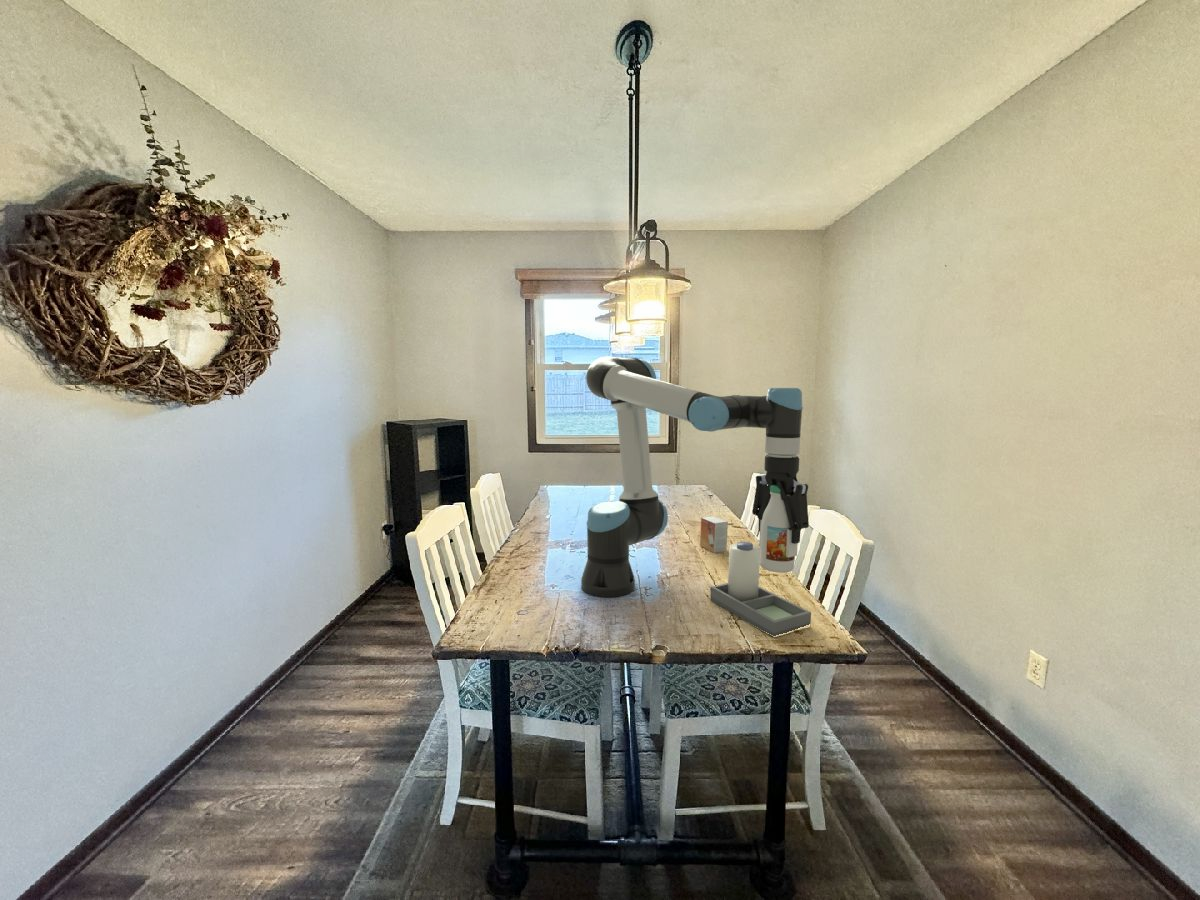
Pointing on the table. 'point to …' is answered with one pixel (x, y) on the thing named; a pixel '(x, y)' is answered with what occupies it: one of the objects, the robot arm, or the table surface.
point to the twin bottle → (743, 571)
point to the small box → (713, 534)
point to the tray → (763, 610)
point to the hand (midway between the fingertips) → (777, 550)
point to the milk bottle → (775, 535)
